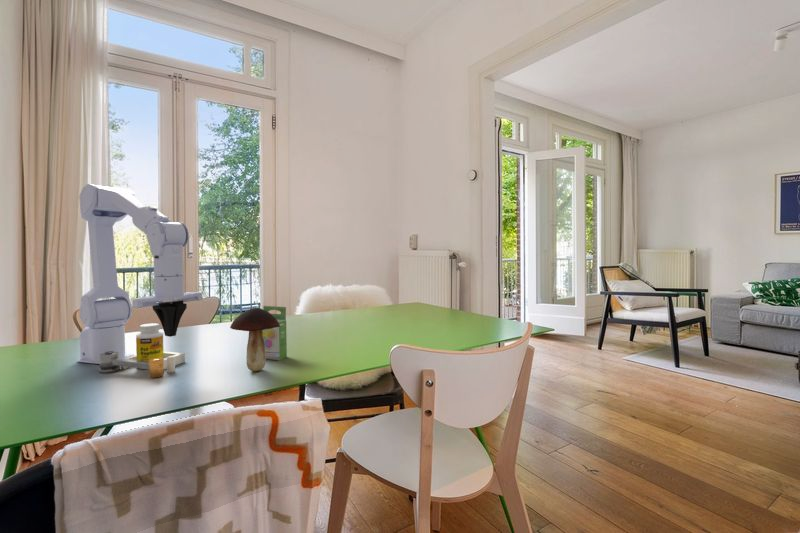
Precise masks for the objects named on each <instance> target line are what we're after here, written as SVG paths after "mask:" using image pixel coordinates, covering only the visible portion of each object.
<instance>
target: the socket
mask: <svg viewBox="0 0 800 533" xmlns="http://www.w3.org/2000/svg"><path fill="white" fill-rule="evenodd" d="M163 356H164V370H167V357H169V356H175V366H177V365H180V364H183V363H185V362H186V354H185V353H184V352H174V351H173V352H172V351H164V350H163ZM124 359H131V360H137V354H134V356H131V357H127V358H124ZM128 368H130V367H124V366H120V370H126V369H128Z"/></svg>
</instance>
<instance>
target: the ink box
mask: <svg viewBox="0 0 800 533" xmlns="http://www.w3.org/2000/svg"><path fill="white" fill-rule="evenodd" d="M262 309H263V310H266V311H268V312H269V311H277V312H279V313H270V312H269V313H270V314H272V315H273V316H274V317H275V318H276V319H277V320H278V322H279V324H280V327H276V328H271V329H265V330H262V332H263V338H264V344H265V355H266V360H272V361H273V360H274V361H276V360H277V361H281V360H284V358H286V357H288V351H287V350H288V349H287V344H288V342H287V339H288V338H287V336H288V335H287V320H286V319H287V307H286V306H275V305H273V306H271V305H263V308H262Z"/></svg>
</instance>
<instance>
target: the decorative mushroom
mask: <svg viewBox="0 0 800 533" xmlns="http://www.w3.org/2000/svg"><path fill="white" fill-rule="evenodd" d="M272 314H273V313H271V314H270V312H269V311H266V310H264V309H263V308H260V307H252V308H250V309H248V310H246V311H244V312H242V313H241V314H239V315H237V317H236V318H234V319H233V321H232V323H231V324H230V327H229V328H230V329H231V330H235V331H243V332H248V340H247V344H246V367H247V369H248V370H250V371H251V372H254V373H256V372H259V371H262V370H263V369H264V368H265V367H266V360H267V359H266V355H265V344H264V338H263V332H262V330H265V329H271V328H276V327H280V324H279V322H278V320H277V319H276V318H275V317H274V316H273V315H272Z"/></svg>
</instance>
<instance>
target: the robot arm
mask: <svg viewBox="0 0 800 533" xmlns="http://www.w3.org/2000/svg"><path fill="white" fill-rule="evenodd" d="M78 197H79V208H80V210H79V211H80V214H81V219H83V220H84V221H86V222H87V228H88V237H89V238H88V240H89V251H90V253H89V254H90V263H91V273H92V274H91V276H92V285H93V287H92V288H91V289H90V290H89V291H87V292H85V293H84V294H83V295H82V296H81V297H80V307H79V312H78V313H79V319H80V321H81V323H82V324H83V325H84V328H83V329H82V330H81V331H80V334H79V353H80V354H79V355H80V356H79V359H77V360H76V362H78V363H87V364H94V365H95V364H98V365H100V356H99V355H100V354H102V353H105V352H107V351H113V352H119V358H122V359H124V358H127V357H131V356H134V355H135V354H132V353H126V337H125V336H126V334H125V332H126V331H125V325H126V324H127V325H128V321H129V320H130V319H131V317H132V315H133V312H134V311H133V308H135V309H142V308H145V307H152V310H153V312H154V313H155V314H156V316H157V318H158V319H159V321H160V324H161V326H162V329H163V334H164V336H165V337H170V338H171V337H176V336H177V332H178V327H179V325H180V321H181V318H182V317H183V315H184V312H185V311H186V310H187V308H188V307H187V303H188V302H197V301H203V292H202V291H192V292H185V288H184V287H185V285H184V283H185V281H184V280H185V277H184V247H186V245H187V244H188V242H189V238H190V233H189V229H188V227H187V225H186V224H184V222H182V221H177V222H176V221H175V222H174V221H173V220H171V219H170V218H169V217H168V216H167V215H164V214H163V213H162V212H160V211H159V209H158V208H157V207H156V206H155V205H146V206H145V205H143V204H142V203H141V202H140V201H139V200H138V199H137V198H136V192H135V191H132V190H131V189H130V188H128V187H127V188H126V187H125V188H123V187H122V188H120V187H112V186H107V185H105V186H103V185H97V184H92V183H86V184H85V185H84V186H83V187H82V189H81V191H80V193H79V196H78ZM127 216H129V217H131V218H132V219H131V221H132V223H133V225H134V227H136V228H137V229H138V230H140V231H141V232H142V233H143V234H145V235H146V239H147V242H148V245H149V249H150V254H151V255H152V256H153V279H154V281H153V283H154V284H153V285H154V286H153V287H154V288H153V290H154V295H149V296H148V295H147V296H141V297H135V298H132V300H131V299H130V295H129V292H128V291H126V289H125V290H124V289H123V288H121V287H119V284H118V283H119V282H118V272H117V271H118V270H117V262H116V260H117V259H116V251H115V250H116V248H115V236H114V225H115V224H116V223H118V222H121V221H123V220H124V218H126V217H127ZM106 298H107V299H106ZM108 298H109V299H108ZM110 298H111V299H110ZM131 301H132V303H131ZM186 302H187V303H186Z"/></svg>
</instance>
